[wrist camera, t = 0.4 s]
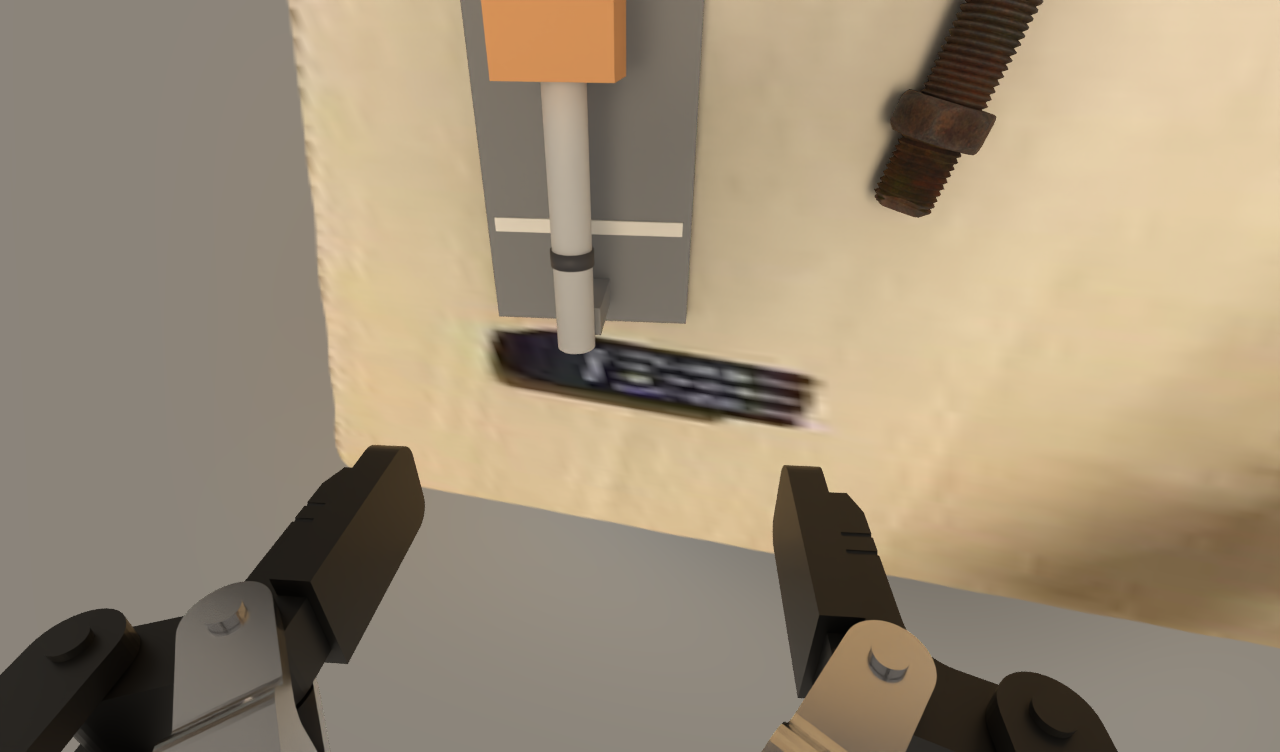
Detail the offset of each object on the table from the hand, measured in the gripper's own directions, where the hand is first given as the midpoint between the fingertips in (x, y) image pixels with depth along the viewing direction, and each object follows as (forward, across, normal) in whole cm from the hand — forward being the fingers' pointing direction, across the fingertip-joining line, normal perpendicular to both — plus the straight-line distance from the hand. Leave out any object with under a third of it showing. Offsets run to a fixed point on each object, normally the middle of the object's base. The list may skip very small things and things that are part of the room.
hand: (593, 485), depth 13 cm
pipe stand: (+25, +4, -3) cm, 26 cm away
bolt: (+26, -15, -7) cm, 31 cm away
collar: (+21, +4, -8) cm, 23 cm away
